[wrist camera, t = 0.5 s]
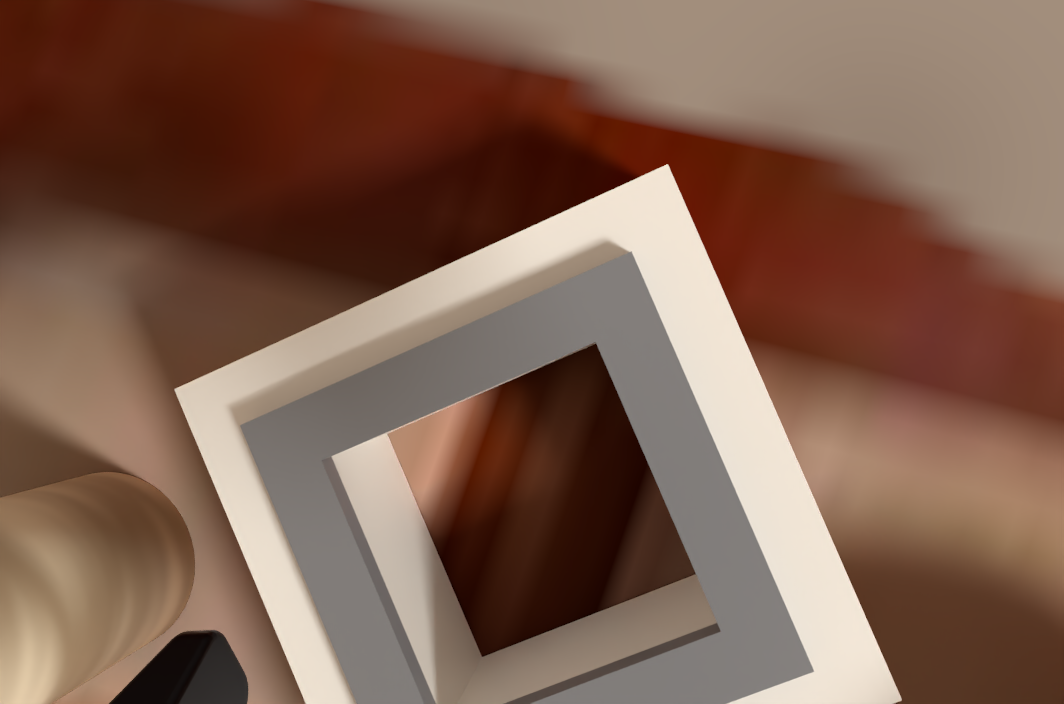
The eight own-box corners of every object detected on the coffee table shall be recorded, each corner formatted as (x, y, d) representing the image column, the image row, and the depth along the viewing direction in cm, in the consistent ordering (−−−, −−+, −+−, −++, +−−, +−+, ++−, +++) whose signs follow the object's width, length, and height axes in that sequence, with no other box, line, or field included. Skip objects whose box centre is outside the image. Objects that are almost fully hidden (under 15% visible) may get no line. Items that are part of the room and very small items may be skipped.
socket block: (858, 632, 23) (910, 712, 18) (429, 790, 25) (373, 902, 20) (666, 192, 23) (668, 159, 19) (255, 378, 25) (159, 391, 20)
